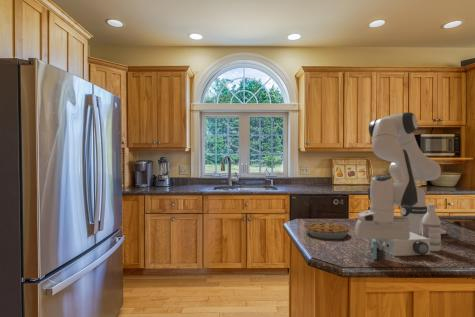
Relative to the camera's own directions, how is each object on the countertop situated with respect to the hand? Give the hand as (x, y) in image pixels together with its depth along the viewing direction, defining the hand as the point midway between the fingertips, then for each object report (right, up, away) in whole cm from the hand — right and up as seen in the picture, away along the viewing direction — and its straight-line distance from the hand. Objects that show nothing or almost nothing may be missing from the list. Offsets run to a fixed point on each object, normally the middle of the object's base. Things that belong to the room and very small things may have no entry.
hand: (381, 249), depth 121 cm
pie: (-11, -3, +37) cm, 39 cm away
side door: (-1, -3, +6) cm, 7 cm away
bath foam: (+27, -3, +11) cm, 29 cm away
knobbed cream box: (+13, -3, +8) cm, 15 cm away
